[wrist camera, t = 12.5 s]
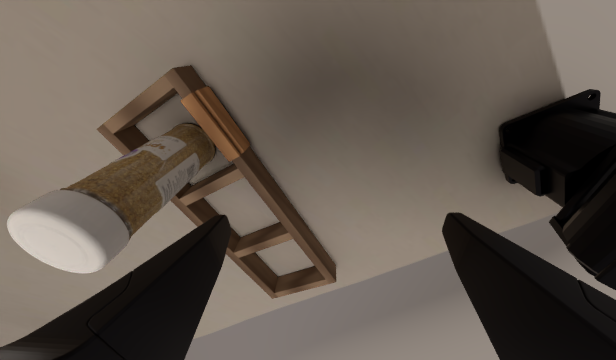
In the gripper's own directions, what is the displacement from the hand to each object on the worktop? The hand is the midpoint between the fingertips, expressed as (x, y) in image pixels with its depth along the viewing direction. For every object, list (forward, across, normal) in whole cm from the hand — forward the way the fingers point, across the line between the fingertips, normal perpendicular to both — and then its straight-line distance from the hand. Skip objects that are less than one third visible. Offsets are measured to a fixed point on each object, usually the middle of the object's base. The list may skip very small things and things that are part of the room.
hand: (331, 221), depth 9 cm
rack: (+13, +10, +9) cm, 19 cm away
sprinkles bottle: (+13, +14, +1) cm, 19 cm away
